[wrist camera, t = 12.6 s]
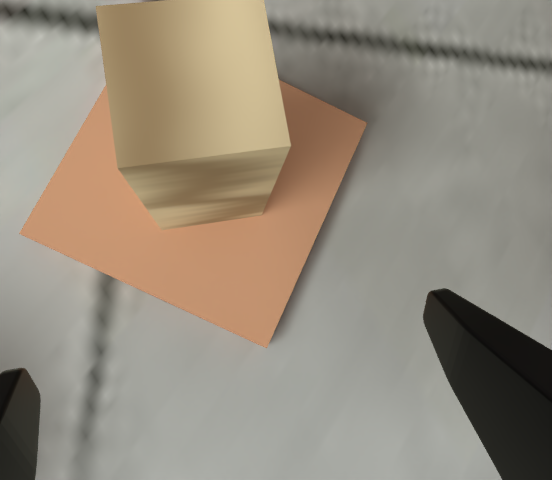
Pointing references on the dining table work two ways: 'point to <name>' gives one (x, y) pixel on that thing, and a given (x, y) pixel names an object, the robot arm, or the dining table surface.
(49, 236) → the terracotta tile
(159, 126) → the maple block
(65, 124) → the dining table surface
